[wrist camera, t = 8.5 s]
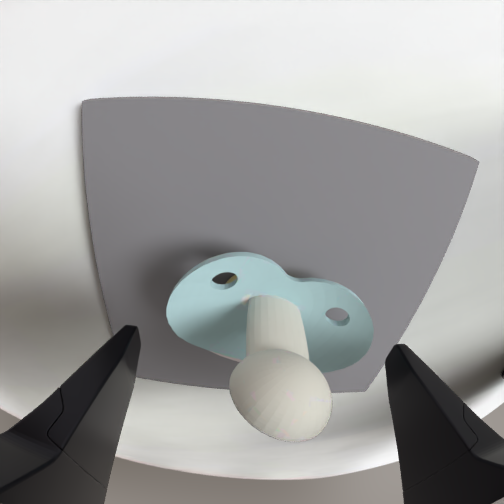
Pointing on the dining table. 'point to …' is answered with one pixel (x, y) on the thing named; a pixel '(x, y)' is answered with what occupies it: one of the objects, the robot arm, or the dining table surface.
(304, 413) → the pacifier
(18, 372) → the dining table surface
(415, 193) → the mat
